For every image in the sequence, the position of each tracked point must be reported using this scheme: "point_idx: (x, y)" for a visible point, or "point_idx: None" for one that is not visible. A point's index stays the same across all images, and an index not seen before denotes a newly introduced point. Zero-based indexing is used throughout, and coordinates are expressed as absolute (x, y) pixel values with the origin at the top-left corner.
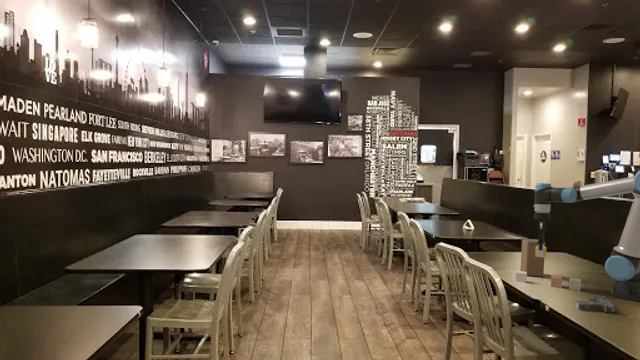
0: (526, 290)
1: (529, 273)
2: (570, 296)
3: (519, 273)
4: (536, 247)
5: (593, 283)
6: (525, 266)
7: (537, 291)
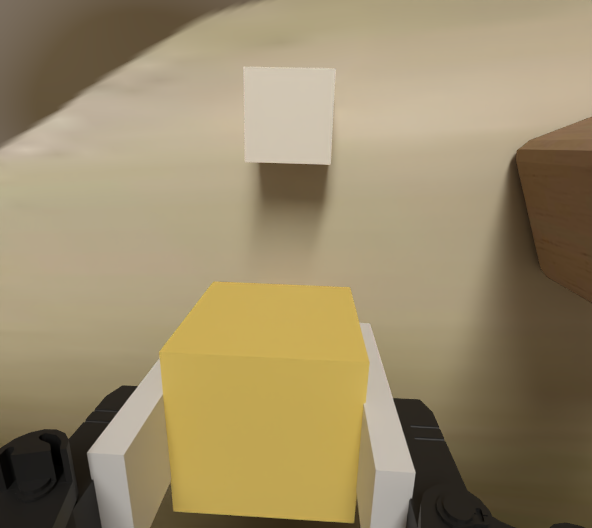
0: (40, 176)
1: (524, 176)
2: (95, 396)
3: (245, 102)
4: (163, 368)
5: (499, 519)
6: (576, 138)
7: (69, 241)
